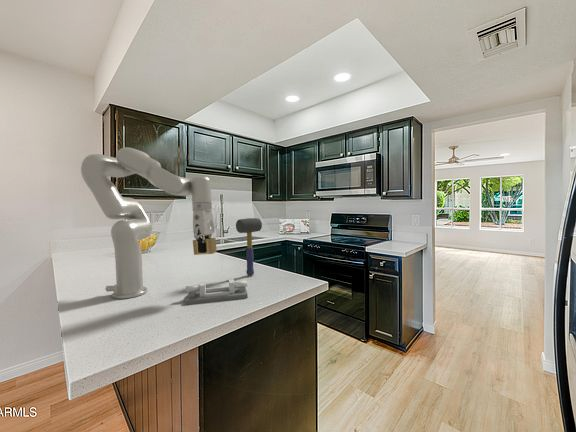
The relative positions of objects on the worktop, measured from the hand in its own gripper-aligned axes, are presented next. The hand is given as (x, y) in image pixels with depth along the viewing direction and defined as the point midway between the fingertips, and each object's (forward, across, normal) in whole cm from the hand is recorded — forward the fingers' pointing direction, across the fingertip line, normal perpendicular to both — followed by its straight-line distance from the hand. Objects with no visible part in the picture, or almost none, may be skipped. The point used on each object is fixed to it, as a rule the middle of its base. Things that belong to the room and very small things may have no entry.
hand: (204, 251), depth 105 cm
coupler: (+1, 0, 0) cm, 1 cm away
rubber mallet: (+19, +29, -10) cm, 36 cm away
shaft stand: (+18, -2, -5) cm, 19 cm away
